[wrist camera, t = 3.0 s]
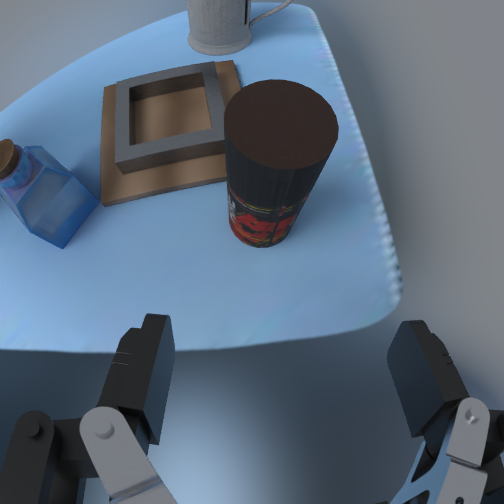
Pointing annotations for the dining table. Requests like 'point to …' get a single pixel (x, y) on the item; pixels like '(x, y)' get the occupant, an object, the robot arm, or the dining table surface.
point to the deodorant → (274, 156)
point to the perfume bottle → (43, 193)
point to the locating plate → (165, 131)
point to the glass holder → (222, 25)
